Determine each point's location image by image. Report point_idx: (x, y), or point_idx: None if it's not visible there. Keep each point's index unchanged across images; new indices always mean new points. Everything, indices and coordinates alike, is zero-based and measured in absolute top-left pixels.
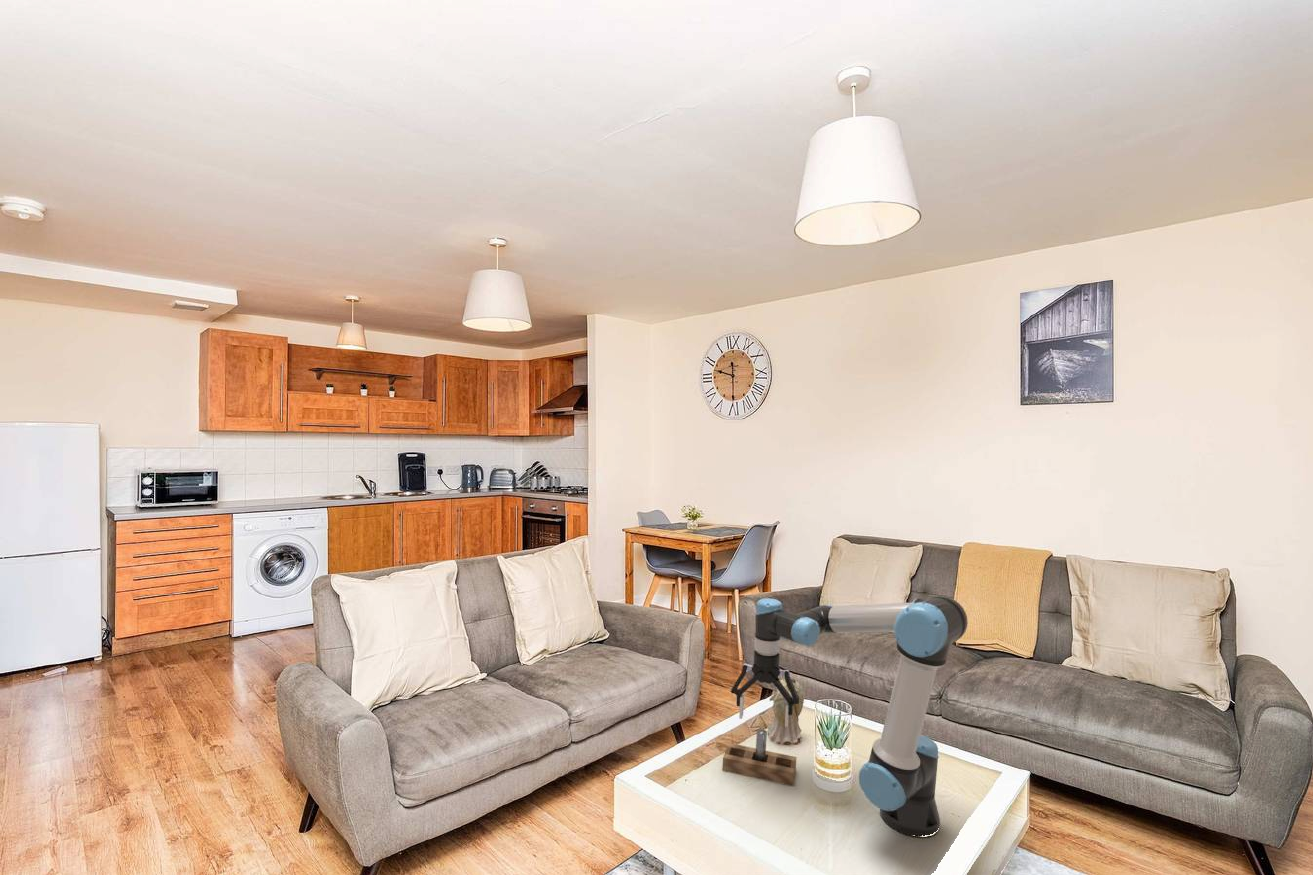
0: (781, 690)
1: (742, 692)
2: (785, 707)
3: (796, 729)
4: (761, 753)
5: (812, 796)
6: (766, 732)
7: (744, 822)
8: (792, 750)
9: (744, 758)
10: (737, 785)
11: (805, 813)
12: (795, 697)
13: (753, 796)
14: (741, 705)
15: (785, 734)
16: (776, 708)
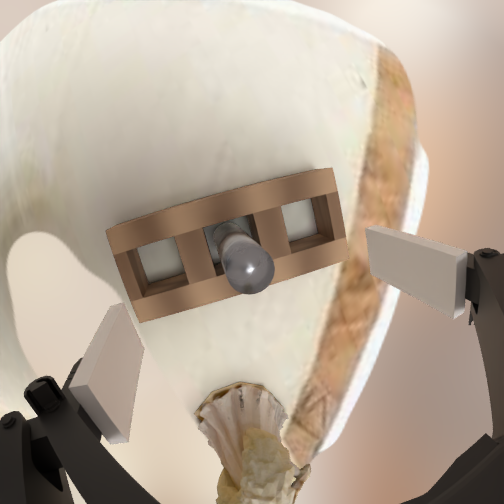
0: (112, 500)
1: (488, 270)
2: (247, 466)
3: (214, 438)
4: (226, 234)
5: (61, 214)
6: (229, 279)
7: (172, 11)
8: (196, 381)
9: (274, 203)
10: (249, 124)
11: (54, 132)
12: (1, 449)
13: (189, 104)
14: (419, 240)
15: (230, 411)
16: (273, 450)
